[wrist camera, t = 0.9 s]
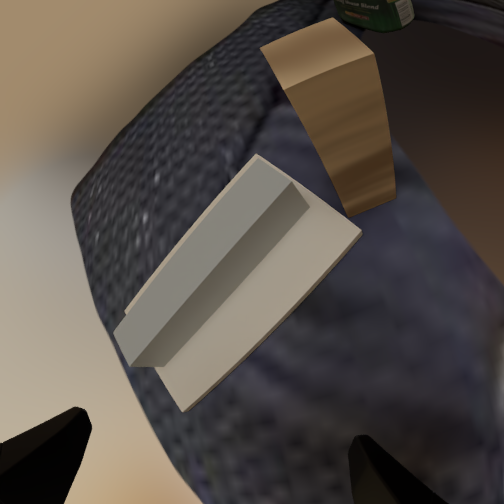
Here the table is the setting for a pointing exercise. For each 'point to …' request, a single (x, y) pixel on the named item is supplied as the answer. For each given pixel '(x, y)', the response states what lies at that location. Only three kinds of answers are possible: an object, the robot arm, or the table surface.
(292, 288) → the ridge stand
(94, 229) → the table surface
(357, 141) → the oak post
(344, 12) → the coffee jar
